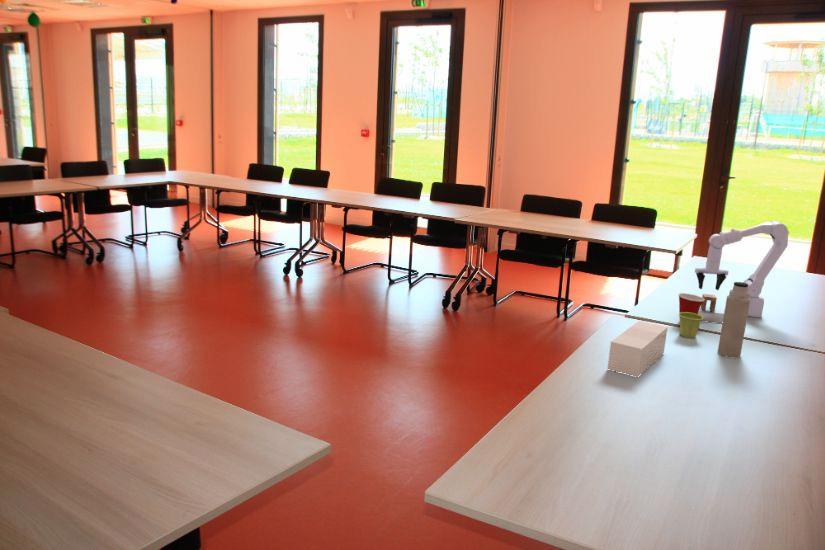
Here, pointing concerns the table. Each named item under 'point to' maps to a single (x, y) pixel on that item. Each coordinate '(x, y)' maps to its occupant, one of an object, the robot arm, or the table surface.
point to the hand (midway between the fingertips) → (708, 289)
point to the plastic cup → (689, 303)
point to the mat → (711, 316)
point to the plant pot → (689, 324)
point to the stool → (710, 298)
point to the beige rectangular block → (637, 348)
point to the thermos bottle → (734, 321)
